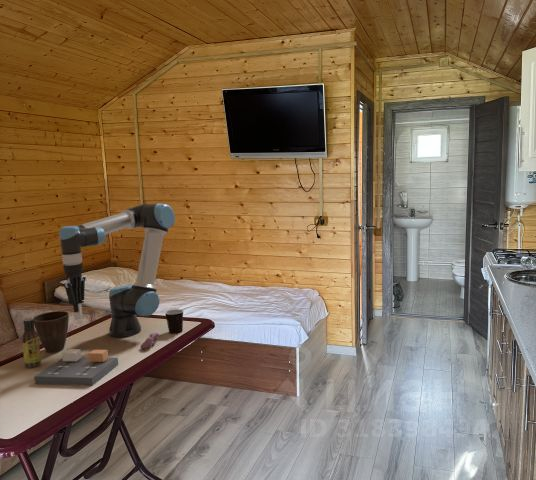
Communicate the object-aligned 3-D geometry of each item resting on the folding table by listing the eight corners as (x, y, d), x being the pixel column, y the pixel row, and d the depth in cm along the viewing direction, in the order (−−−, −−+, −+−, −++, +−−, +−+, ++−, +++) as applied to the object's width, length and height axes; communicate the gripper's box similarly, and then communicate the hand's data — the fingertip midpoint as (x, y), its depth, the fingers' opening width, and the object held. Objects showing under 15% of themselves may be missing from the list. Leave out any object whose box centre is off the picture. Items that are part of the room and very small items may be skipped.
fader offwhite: (68, 357, 210) (67, 349, 209) (81, 357, 209) (80, 349, 208) (62, 361, 206) (61, 352, 205) (76, 361, 205) (75, 353, 204)
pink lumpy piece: (148, 353, 224) (153, 339, 222) (139, 348, 224) (144, 335, 223) (157, 345, 233) (162, 332, 232) (148, 340, 234) (153, 327, 232)
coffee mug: (169, 329, 251) (167, 309, 249) (186, 328, 251) (184, 308, 249) (163, 337, 239) (161, 316, 238) (181, 336, 239) (179, 315, 238)
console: (65, 363, 213) (64, 356, 212) (118, 364, 208) (117, 357, 208) (35, 383, 193) (34, 376, 193) (92, 385, 189) (91, 377, 188)
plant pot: (64, 355, 223) (60, 320, 220) (30, 356, 223) (26, 321, 221) (77, 343, 238) (73, 310, 235) (46, 345, 238) (42, 311, 236)
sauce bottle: (31, 369, 208) (25, 322, 205) (21, 367, 211) (15, 321, 208) (45, 363, 214) (39, 318, 211) (35, 361, 217) (29, 316, 214)
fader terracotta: (94, 357, 207) (94, 349, 207) (108, 358, 206) (107, 349, 206) (89, 361, 203) (88, 353, 203) (103, 361, 202) (102, 353, 202)
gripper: (73, 260, 217) (79, 314, 220) (55, 266, 204) (61, 323, 207) (89, 260, 215) (95, 314, 218) (72, 266, 202) (78, 323, 206)
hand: (78, 318), depth 213 cm, fingers closed
